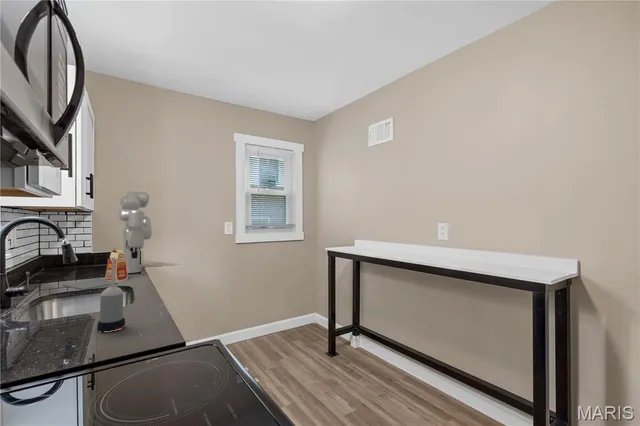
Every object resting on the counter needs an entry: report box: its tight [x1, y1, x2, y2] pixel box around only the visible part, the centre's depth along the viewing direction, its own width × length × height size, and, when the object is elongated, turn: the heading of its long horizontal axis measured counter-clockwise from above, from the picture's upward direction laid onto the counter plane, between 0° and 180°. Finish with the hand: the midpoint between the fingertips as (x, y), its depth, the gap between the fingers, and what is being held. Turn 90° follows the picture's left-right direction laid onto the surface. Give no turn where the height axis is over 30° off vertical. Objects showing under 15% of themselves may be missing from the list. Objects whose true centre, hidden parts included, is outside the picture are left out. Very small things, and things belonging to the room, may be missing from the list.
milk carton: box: [104, 247, 129, 283], centre depth 190 cm, size 9×9×20 cm
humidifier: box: [96, 257, 126, 332], centre depth 110 cm, size 8×8×25 cm
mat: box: [62, 278, 119, 291], centre depth 177 cm, size 18×20×1 cm
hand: (134, 258), depth 199 cm, fingers closed
